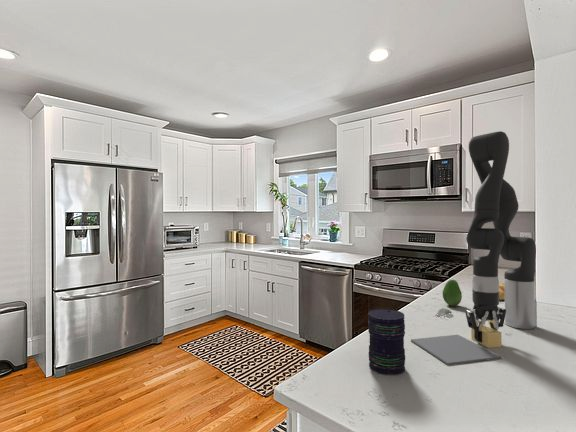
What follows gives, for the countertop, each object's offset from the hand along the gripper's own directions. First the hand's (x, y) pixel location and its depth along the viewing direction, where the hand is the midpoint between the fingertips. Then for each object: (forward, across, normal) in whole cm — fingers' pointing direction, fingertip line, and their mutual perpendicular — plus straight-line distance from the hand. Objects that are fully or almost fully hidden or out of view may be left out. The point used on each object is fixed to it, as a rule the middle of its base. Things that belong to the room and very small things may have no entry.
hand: (485, 340), depth 108 cm
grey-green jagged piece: (+1, -3, -27) cm, 27 cm away
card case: (+1, 0, 0) cm, 1 cm away
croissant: (+1, -53, -48) cm, 71 cm away
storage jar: (+1, +40, +8) cm, 41 cm away
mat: (+1, +14, +2) cm, 14 cm away
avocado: (+1, -19, -40) cm, 44 cm away
